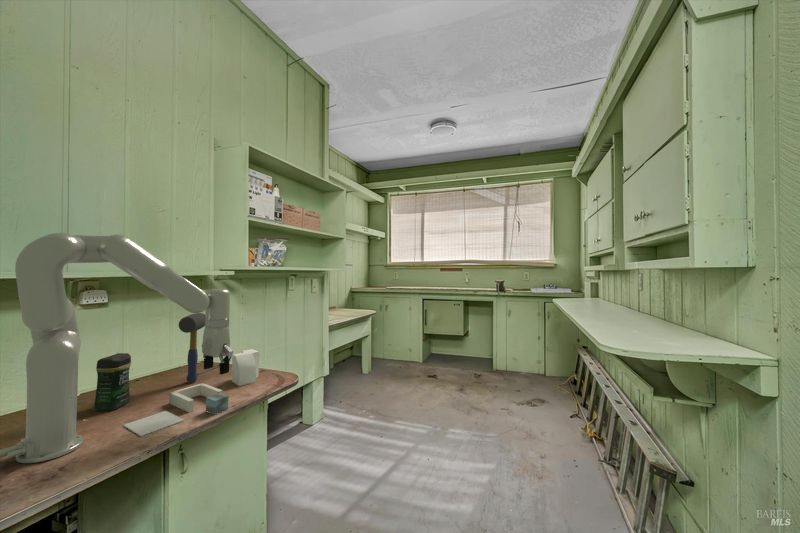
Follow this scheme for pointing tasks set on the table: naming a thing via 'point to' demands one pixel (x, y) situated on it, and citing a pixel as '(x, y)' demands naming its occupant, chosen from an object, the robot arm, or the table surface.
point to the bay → (191, 395)
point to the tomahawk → (208, 370)
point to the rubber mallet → (192, 341)
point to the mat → (153, 423)
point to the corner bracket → (245, 367)
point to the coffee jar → (112, 382)
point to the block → (217, 403)
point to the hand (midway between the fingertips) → (216, 370)
